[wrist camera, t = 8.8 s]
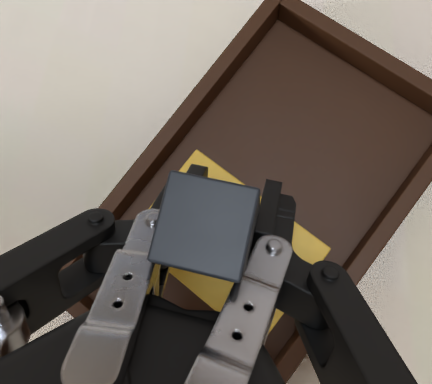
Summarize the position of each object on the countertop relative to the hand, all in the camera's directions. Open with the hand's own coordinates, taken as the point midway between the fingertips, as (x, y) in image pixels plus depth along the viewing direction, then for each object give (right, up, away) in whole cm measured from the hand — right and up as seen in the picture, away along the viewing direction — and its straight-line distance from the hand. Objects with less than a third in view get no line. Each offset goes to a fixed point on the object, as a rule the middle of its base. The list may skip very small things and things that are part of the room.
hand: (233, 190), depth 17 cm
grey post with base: (0, -3, +4) cm, 5 cm away
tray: (+1, -1, +5) cm, 5 cm away
